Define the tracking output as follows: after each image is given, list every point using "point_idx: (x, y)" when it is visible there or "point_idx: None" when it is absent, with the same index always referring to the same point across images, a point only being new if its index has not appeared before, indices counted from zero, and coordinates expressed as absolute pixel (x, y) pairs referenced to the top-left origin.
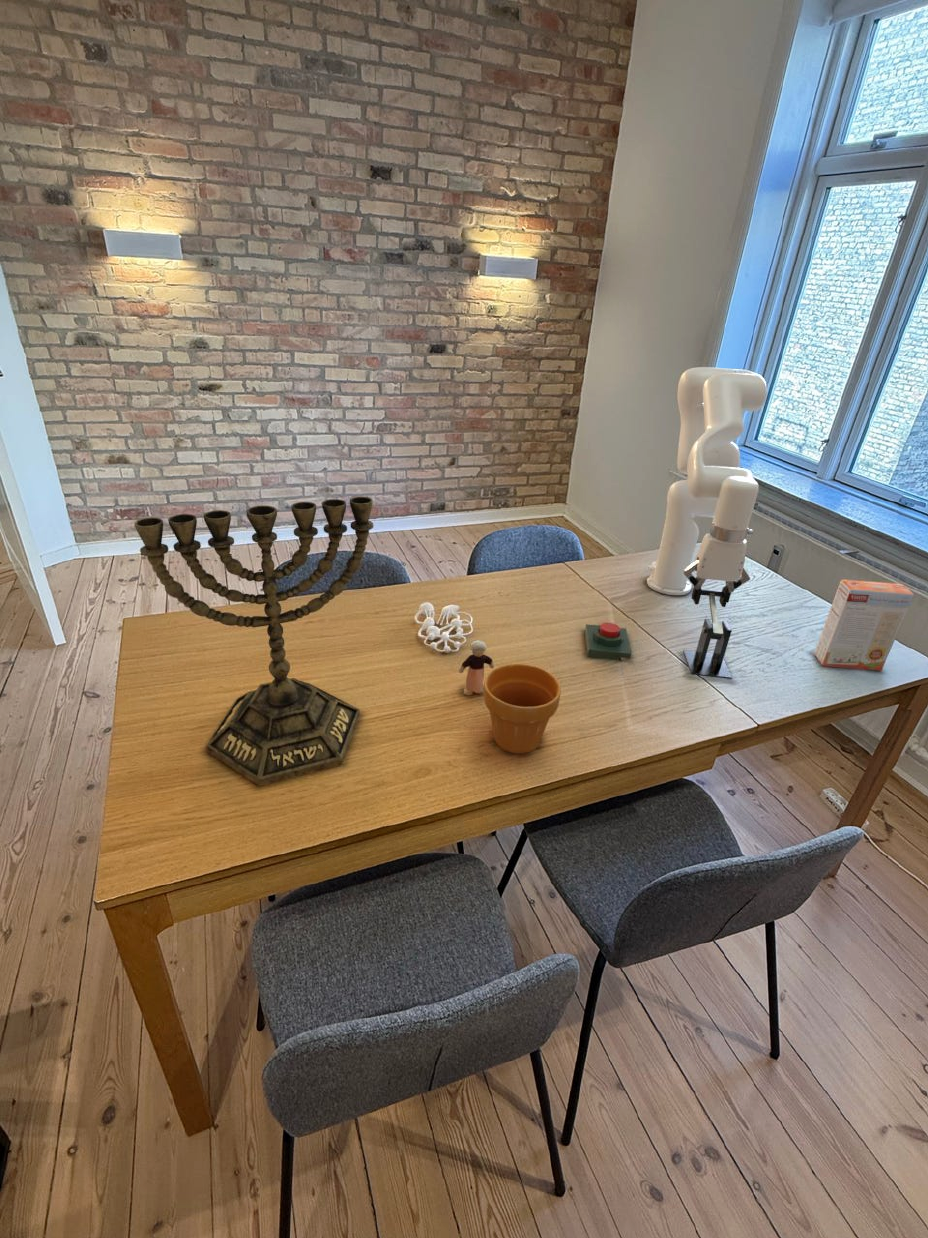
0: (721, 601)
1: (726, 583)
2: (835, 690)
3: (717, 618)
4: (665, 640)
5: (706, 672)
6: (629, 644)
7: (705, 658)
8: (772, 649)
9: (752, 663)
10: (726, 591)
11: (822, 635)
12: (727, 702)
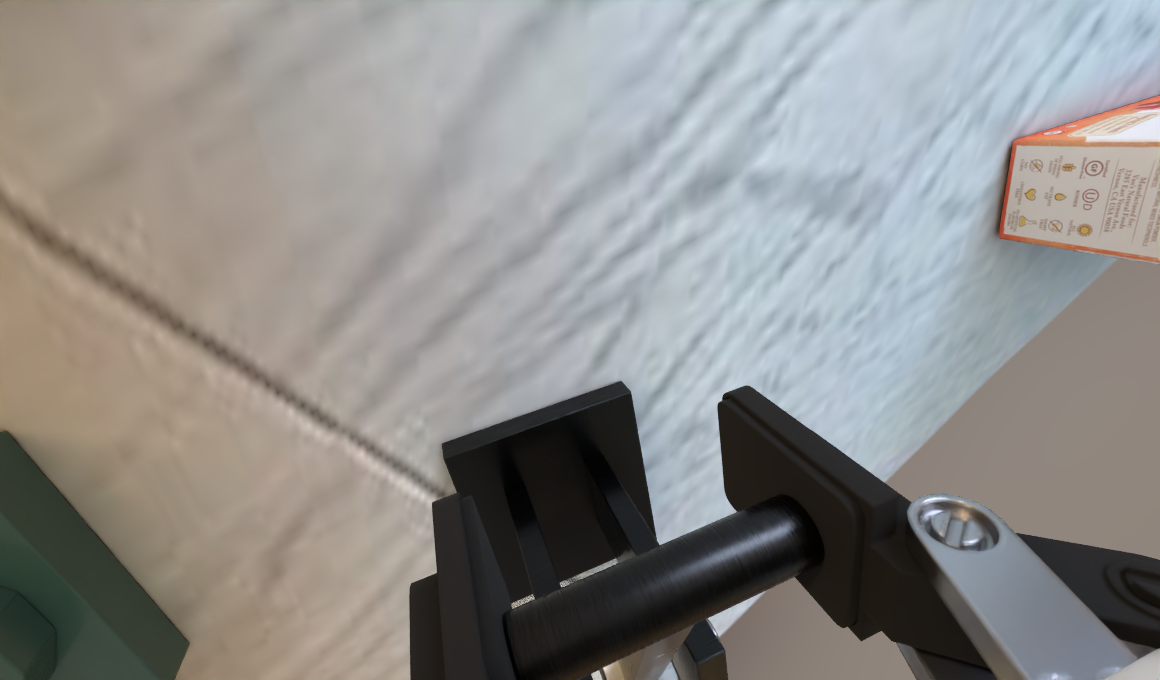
0: (740, 475)
1: (951, 603)
2: (961, 381)
3: (664, 669)
4: (315, 348)
5: (561, 565)
6: (109, 629)
7: (556, 469)
8: (863, 171)
9: (749, 349)
10: (862, 619)
11: (1150, 163)
12: None
